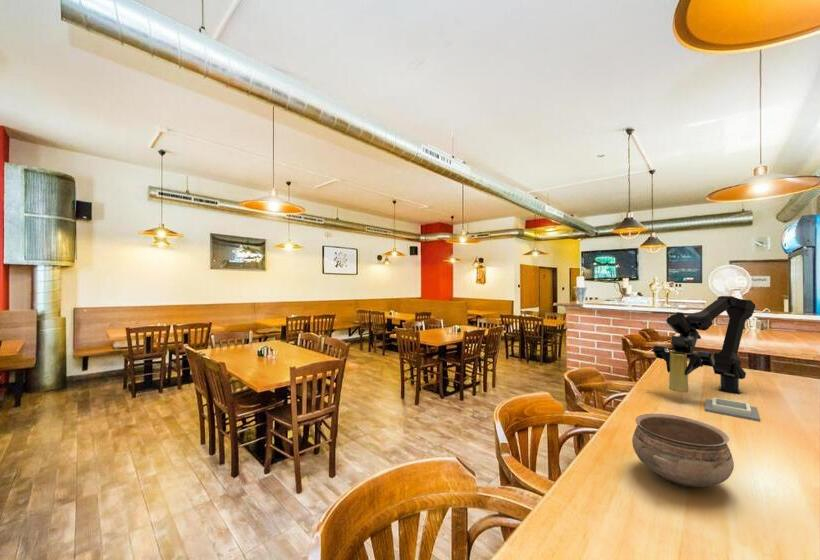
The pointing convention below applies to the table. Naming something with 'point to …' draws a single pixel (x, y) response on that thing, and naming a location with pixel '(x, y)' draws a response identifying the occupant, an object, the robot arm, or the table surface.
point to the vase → (678, 372)
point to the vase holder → (732, 408)
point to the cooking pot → (683, 450)
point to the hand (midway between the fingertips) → (676, 373)
